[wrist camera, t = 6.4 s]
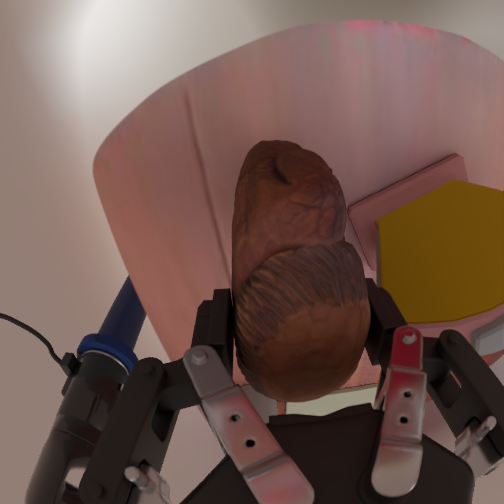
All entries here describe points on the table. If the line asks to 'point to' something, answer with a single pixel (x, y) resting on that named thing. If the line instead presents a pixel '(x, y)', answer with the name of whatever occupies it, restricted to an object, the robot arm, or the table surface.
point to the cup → (261, 403)
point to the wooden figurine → (294, 276)
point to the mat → (334, 401)
